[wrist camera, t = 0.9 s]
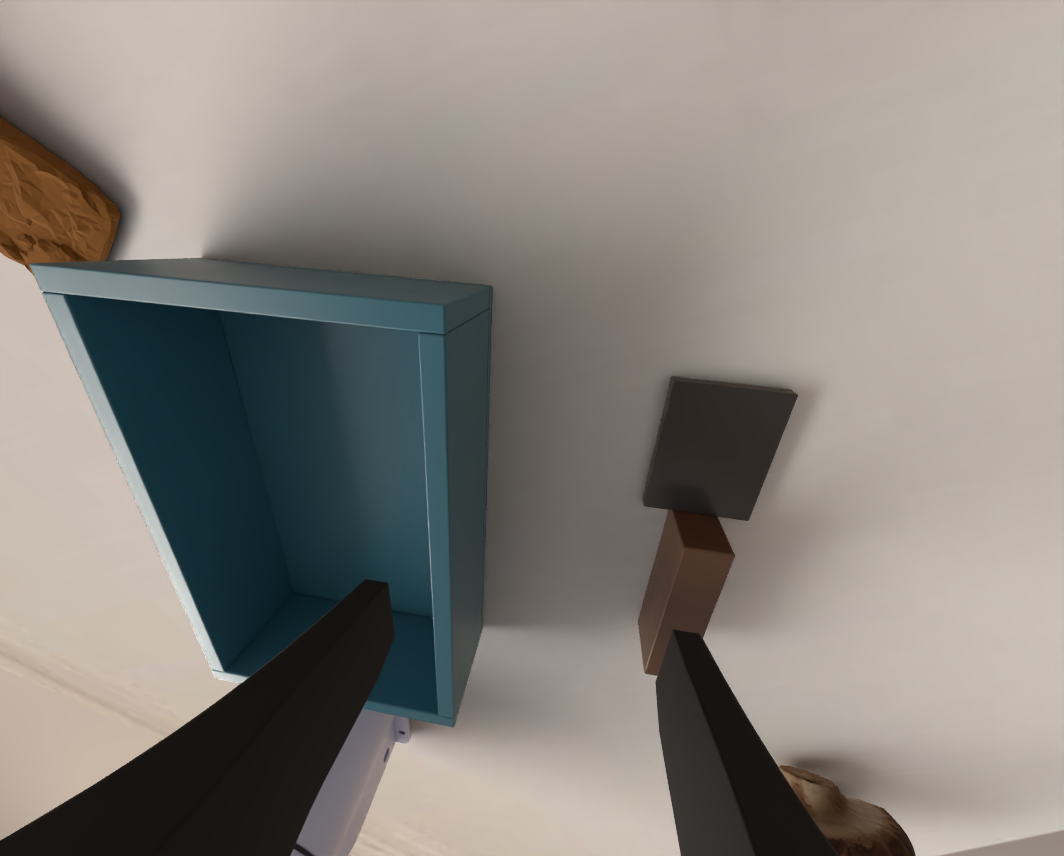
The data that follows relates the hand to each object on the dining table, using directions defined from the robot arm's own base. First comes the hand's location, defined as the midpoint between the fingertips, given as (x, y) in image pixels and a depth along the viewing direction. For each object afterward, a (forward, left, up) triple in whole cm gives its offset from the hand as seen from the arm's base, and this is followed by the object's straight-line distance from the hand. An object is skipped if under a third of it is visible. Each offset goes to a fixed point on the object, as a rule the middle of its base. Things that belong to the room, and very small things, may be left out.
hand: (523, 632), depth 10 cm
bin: (-3, +9, -9) cm, 13 cm away
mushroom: (-22, -19, -9) cm, 30 cm away
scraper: (-3, -7, -9) cm, 11 cm away
